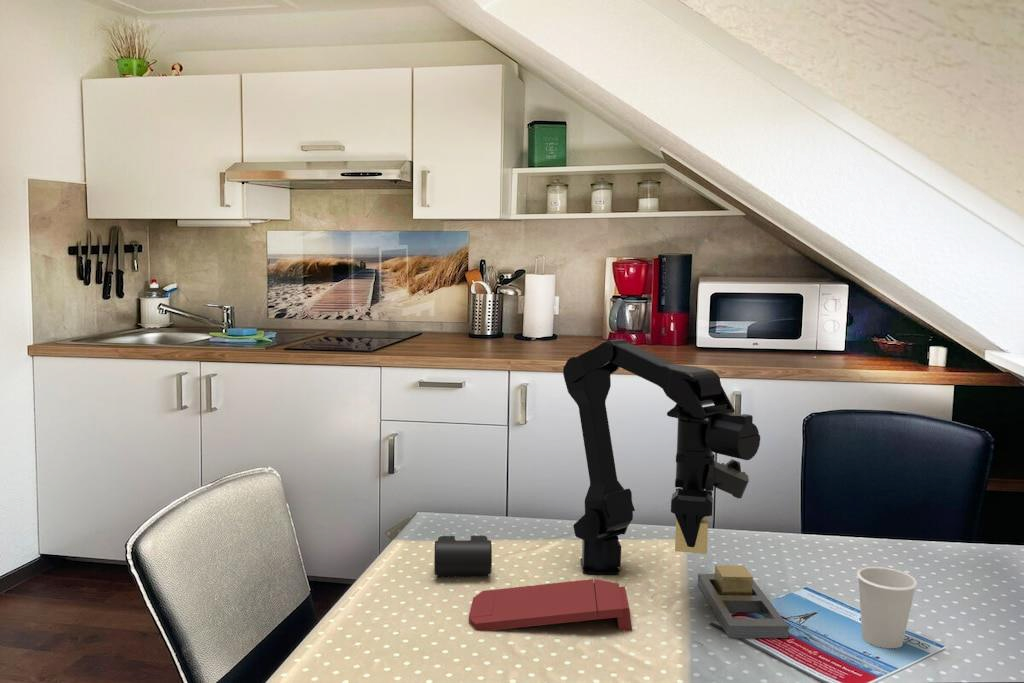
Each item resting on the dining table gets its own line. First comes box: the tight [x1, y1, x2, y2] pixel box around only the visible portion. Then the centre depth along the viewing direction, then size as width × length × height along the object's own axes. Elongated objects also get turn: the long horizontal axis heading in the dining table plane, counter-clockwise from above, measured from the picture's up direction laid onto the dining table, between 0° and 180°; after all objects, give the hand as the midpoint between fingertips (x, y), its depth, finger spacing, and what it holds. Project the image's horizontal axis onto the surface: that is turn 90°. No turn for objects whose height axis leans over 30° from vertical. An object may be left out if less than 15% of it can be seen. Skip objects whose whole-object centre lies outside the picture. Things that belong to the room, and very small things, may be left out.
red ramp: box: [468, 578, 633, 632], centre depth 132 cm, size 12×5×25 cm
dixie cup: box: [856, 566, 918, 650], centre depth 125 cm, size 8×8×10 cm
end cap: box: [433, 534, 493, 578], centre depth 147 cm, size 10×7×7 cm
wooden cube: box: [674, 516, 709, 555], centre depth 135 cm, size 5×5×5 cm
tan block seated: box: [714, 564, 754, 596], centre depth 139 cm, size 5×5×5 cm
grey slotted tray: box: [697, 573, 789, 640], centre depth 135 cm, size 9×20×2 cm, turn 1°
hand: (691, 541), depth 135 cm, fingers closed on wooden cube, 5 cm apart
